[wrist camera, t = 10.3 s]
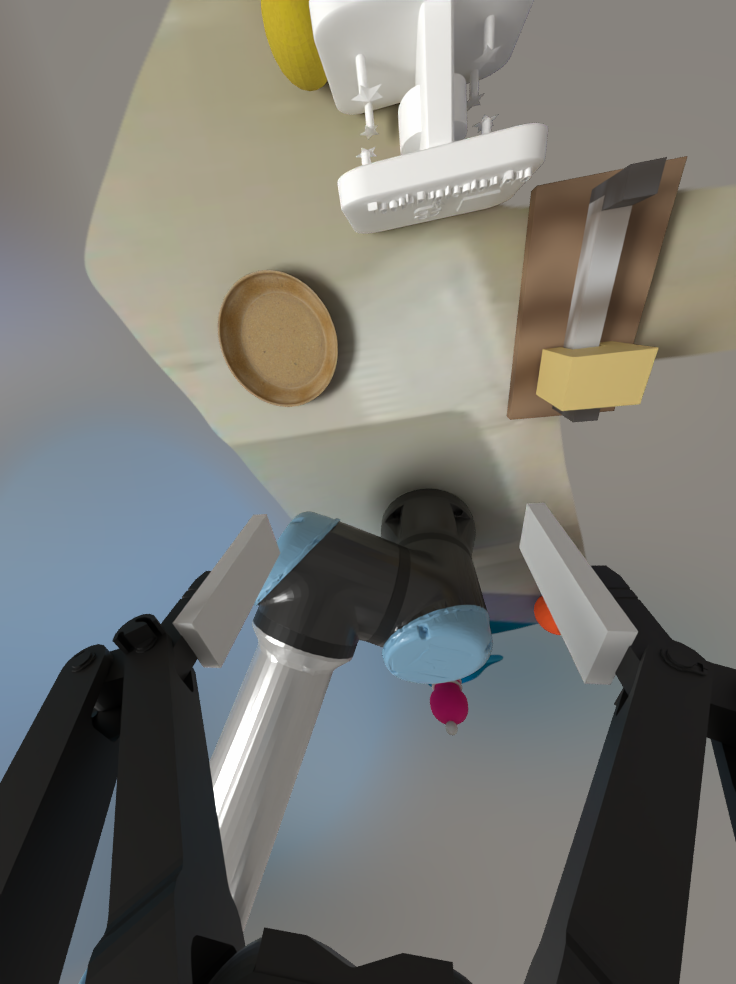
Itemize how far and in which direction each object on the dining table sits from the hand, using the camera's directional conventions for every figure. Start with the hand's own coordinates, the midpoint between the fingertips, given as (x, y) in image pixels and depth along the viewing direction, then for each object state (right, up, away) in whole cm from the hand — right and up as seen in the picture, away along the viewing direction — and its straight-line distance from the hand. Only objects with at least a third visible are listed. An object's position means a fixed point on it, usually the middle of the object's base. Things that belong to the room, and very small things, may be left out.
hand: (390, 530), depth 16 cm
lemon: (-6, +40, +11) cm, 41 cm away
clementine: (+33, -17, +40) cm, 55 cm away
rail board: (+22, +22, +18) cm, 36 cm away
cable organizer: (+4, +34, +13) cm, 37 cm away
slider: (+22, +16, +19) cm, 33 cm away
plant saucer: (-12, +21, +23) cm, 33 cm away
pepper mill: (+14, -24, +47) cm, 55 cm away
